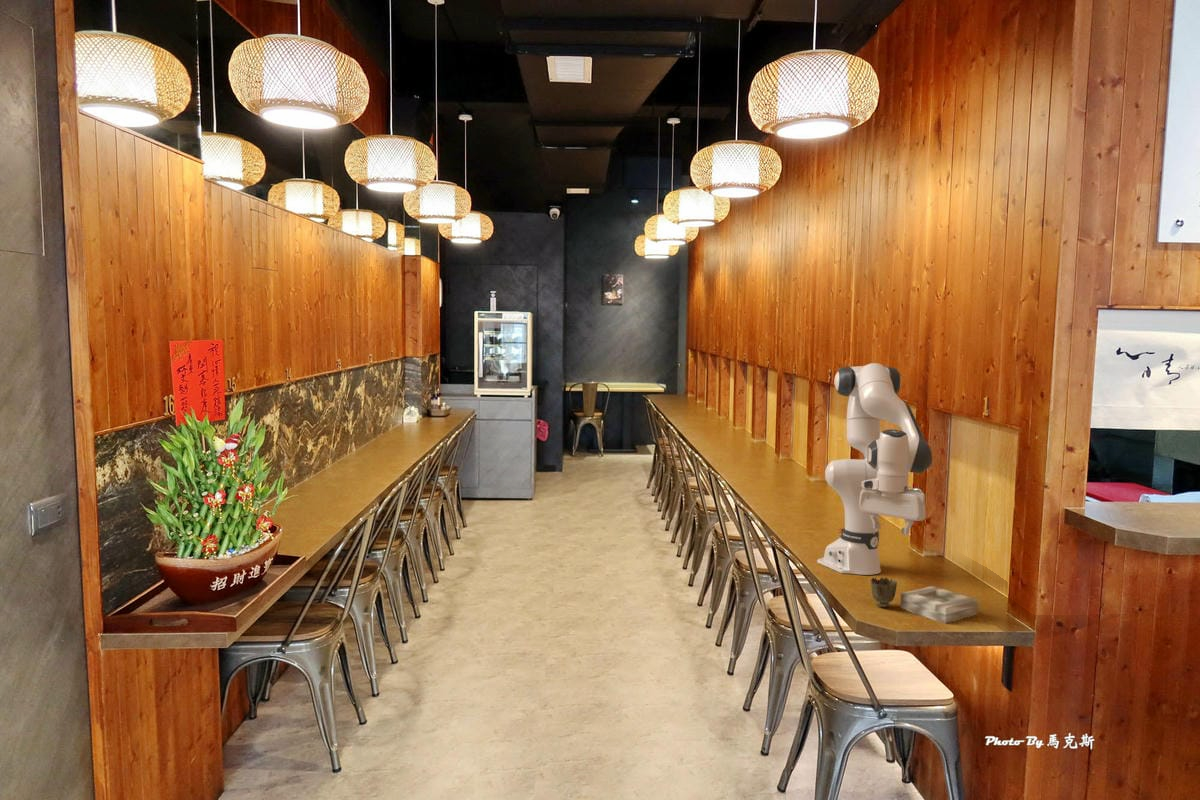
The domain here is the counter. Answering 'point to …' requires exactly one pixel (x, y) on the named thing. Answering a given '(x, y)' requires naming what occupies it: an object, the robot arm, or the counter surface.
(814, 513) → the counter surface
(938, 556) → the counter surface
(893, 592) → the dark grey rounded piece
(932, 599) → the white recessed square tray
